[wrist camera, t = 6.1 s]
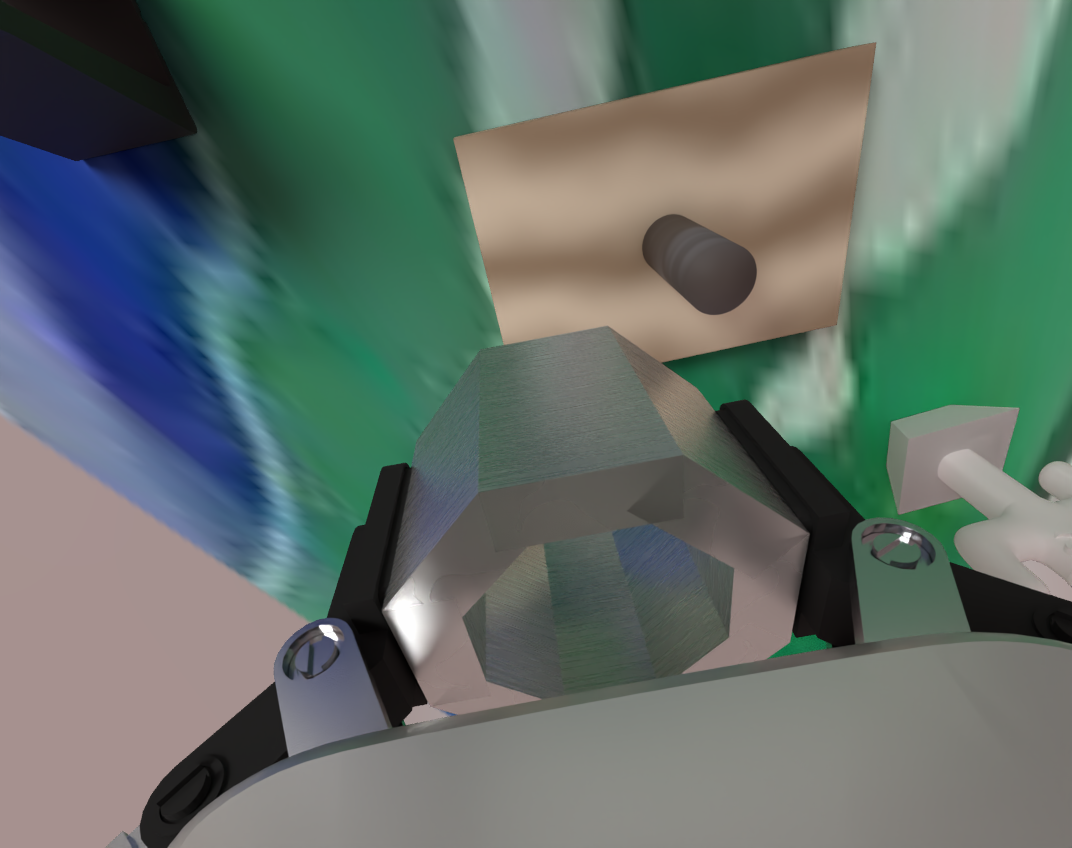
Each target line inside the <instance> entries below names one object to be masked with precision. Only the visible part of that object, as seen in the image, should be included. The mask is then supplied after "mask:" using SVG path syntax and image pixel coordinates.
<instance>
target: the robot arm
mask: <svg viewBox="0 0 1072 848" xmlns="http://www.w3.org/2000/svg"><path fill="white" fill-rule="evenodd" d="M715 412H716V413H717V415H718V416H719V417H720V418H721V420H722V421H723V422H724V424H725V425H726V426H727V428H728V429H729V430H730V431H731V433H732V434H733V435H734V437H735V438H736V439H737V440H738V442H739V443H740V444H741V446H742V447H743V448H744V449H745V451H746V452H747V453H748V455H749V456H750V457H751V459H752V460H753V461H754V462H755V464H756V465H757V466H758V468H759V469H760V470H761V471H762V473H763V474H764V475H765V477H766V478H767V479H768V480H769V482H770V483H771V484H772V486H773V487H774V488H775V490H776V491H777V492H778V493H779V495H780V496H781V497H782V499H783V500H784V501H785V502H786V504H787V505H788V506H789V508H790V509H791V510H792V511H793V513H794V514H795V515H796V517H797V518H798V519H799V520H800V522H801V523H802V524H803V526H804V527H805V528H806V529H807V531H808V532H809V533H810V535H809V541H808V546H807V552H806V557H805V563H804V568H803V574H802V579H801V584H800V590H799V595H798V601H797V606H796V612H795V617H794V623H793V628H792V631H793V633H794V635H795V637H796V638H798V637H803V636H809V635H814V634H816V636H817V637H818V638H819V639H821V640H824V641H826V645H827V649H823V650H818V651H812V652H806V653H800V654H795V655H789V656H783V657H777V658H772V659H766V660H760V661H754V662H749V663H743V664H737V665H731V666H726V667H720V668H714V669H708V670H703V671H697V672H691V673H686V674H680V675H675V676H669V677H664V678H658V679H652V680H647V681H641V682H636V683H630V684H624V685H619V686H613V687H608V688H602V689H597V690H591V691H586V692H580V693H575V694H569V695H564V696H558V697H553V698H547V699H542V700H536V701H531V702H526V703H520V704H515V705H509V706H504V707H499V708H493V709H488V710H482V711H477V712H472V713H466V714H461V715H455V716H450V717H445V718H440V719H435V720H430V721H425V722H420V723H415V724H410V725H405V722H404V719H405V718H406V717H407V716H408V714H409V713H410V712H411V711H412V707H414V706H420V705H425V704H427V699H426V697H425V695H424V693H423V691H422V689H421V687H420V685H419V683H418V681H417V679H416V677H415V676H414V674H413V672H412V670H411V668H410V666H409V664H408V662H407V660H406V658H405V656H404V654H403V652H402V650H401V648H400V646H399V644H398V642H397V640H396V638H395V637H394V635H393V633H392V631H391V629H390V627H389V625H388V623H387V621H386V619H385V617H384V615H383V613H382V608H383V603H384V598H385V593H386V591H387V588H388V586H389V582H390V578H391V573H392V568H393V563H394V558H395V553H396V548H397V543H398V538H399V533H400V528H401V523H402V518H403V513H404V508H405V503H406V498H407V493H408V488H409V483H410V478H411V473H412V468H410V467H409V465H408V464H407V463H401V464H396V465H390V466H385V467H383V468H382V469H381V472H380V476H379V479H378V482H377V486H376V489H375V493H374V496H373V500H372V503H371V507H370V510H369V514H368V517H367V521H366V524H365V525H360V526H358V527H357V528H355V530H354V533H353V535H352V539H351V542H350V545H349V548H348V551H347V555H346V558H345V561H344V564H343V567H342V571H341V574H340V577H339V580H338V583H337V587H336V590H335V593H334V596H333V600H332V603H331V606H330V609H329V612H328V616H327V618H325V619H319V620H316V621H314V622H312V623H310V624H307V625H305V626H304V627H303V628H301V629H300V630H298V631H297V632H295V633H294V634H293V636H291V637H290V638H289V639H288V640H287V641H286V642H285V644H284V645H283V647H282V648H281V650H280V651H279V652H278V655H277V657H276V660H275V663H274V679H275V682H274V683H273V684H271V685H270V686H269V687H268V688H267V689H266V690H264V691H263V692H262V693H261V694H260V695H259V696H257V697H256V698H255V699H254V700H253V701H252V702H250V703H249V704H248V705H247V706H246V707H245V708H243V709H242V710H241V711H240V712H239V713H237V714H236V715H235V716H234V717H233V718H232V719H230V720H229V721H228V722H227V723H226V724H225V725H223V726H222V727H221V728H220V729H219V730H218V731H216V732H215V733H214V734H213V735H212V736H211V737H210V738H208V739H207V740H206V741H205V742H204V743H202V744H201V745H200V746H199V747H198V748H197V749H195V750H194V751H193V752H192V753H191V754H190V755H188V756H187V757H186V758H185V759H184V760H182V762H180V763H179V764H178V765H177V766H176V767H174V769H172V771H171V772H169V774H168V775H167V776H165V777H164V778H163V780H162V781H161V782H160V784H159V785H158V786H157V788H156V789H155V790H154V792H153V793H152V795H151V796H150V798H149V800H148V802H147V805H146V806H145V809H144V811H143V814H142V819H141V823H140V825H139V826H138V827H137V828H136V829H135V830H134V831H133V832H132V833H130V834H129V835H128V834H127V833H125V832H123V831H122V832H121V833H120V834H119V835H118V836H117V837H116V838H115V839H114V840H113V841H112V842H111V843H110V844H108V845H107V846H106V848H1072V602H1071V601H1067V600H1064V599H1061V598H1058V597H1055V596H1052V595H1049V594H1046V593H1043V592H1040V591H1037V590H1034V589H1031V588H1028V587H1025V586H1021V585H1018V584H1015V583H1012V582H1009V581H1006V580H1003V579H1000V578H997V577H994V576H991V575H988V574H985V573H982V572H978V571H975V570H972V569H969V568H966V567H963V566H960V565H957V564H954V563H951V562H949V560H948V557H947V554H946V551H945V550H944V548H943V546H942V544H941V543H940V542H939V541H938V540H937V539H936V538H935V537H934V536H933V535H932V534H931V533H929V532H927V531H926V530H924V529H922V528H921V527H919V526H916V525H914V524H911V523H909V522H906V521H902V520H898V519H893V518H873V519H867V520H865V519H864V518H863V517H862V516H861V515H860V514H859V513H858V512H857V511H856V509H855V508H854V507H853V506H852V505H851V504H850V503H849V502H848V501H847V500H846V499H845V498H844V497H843V496H842V495H841V493H840V492H839V491H838V490H837V489H836V488H835V487H834V486H833V485H832V484H831V483H830V482H829V481H828V480H827V479H826V477H825V476H824V475H823V474H822V473H821V472H820V471H819V470H818V469H817V468H816V467H815V466H814V465H813V464H812V463H811V461H810V460H809V459H808V458H807V457H806V456H805V455H804V454H803V453H802V452H801V451H800V450H799V449H798V448H796V447H793V446H790V445H789V444H788V443H787V442H786V441H785V440H784V439H783V438H782V437H781V436H780V435H779V433H778V432H777V431H776V430H775V429H774V428H773V427H772V426H771V425H770V424H769V423H768V421H767V420H766V419H765V418H764V417H763V416H762V415H761V414H760V413H759V412H758V411H757V409H756V408H755V407H754V406H753V405H752V404H751V403H750V402H749V401H748V400H740V401H735V402H729V403H724V404H722V405H721V406H720V410H719V411H715Z"/></svg>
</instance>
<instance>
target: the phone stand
mask: <svg viewBox="0 0 1072 848" xmlns="http://www.w3.org/2000/svg"><path fill="white" fill-rule="evenodd" d="M140 12H141V11H140V9H139V7H138V5H137V3H136V1H135V0H0V136H3V137H6V138H9V139H12V140H15V141H18V142H21V143H24V144H27V145H30V146H33V147H36V148H39V149H42V150H45V151H48V152H51V153H53V154H56V155H59V156H62V157H65V158H68V159H71V160H74V161H79V160H84V159H88V158H92V157H97V156H101V155H106V154H110V153H114V152H119V151H123V150H127V149H132V148H136V147H140V146H145V145H149V144H153V143H158V142H162V141H167V140H171V139H175V138H180V137H184V136H188V135H193V134H196V133H197V128H196V126H195V123H194V121H193V119H192V117H191V115H190V113H189V111H188V109H187V107H186V105H185V103H184V101H183V99H182V96H181V94H180V92H179V90H178V88H177V86H176V84H175V82H174V80H173V78H172V76H171V74H170V71H169V69H168V67H167V65H166V63H165V61H164V59H163V57H162V55H161V53H160V51H159V49H158V47H157V44H156V42H155V40H154V38H153V36H152V34H151V32H150V30H149V28H148V26H147V24H146V22H144V21H143V19H142V18H141V16H140Z"/></svg>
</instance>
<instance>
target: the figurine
mask: <svg viewBox="0 0 1072 848" xmlns="http://www.w3.org/2000/svg"><path fill="white" fill-rule="evenodd" d="M1019 409H1020V408H1011V407H988V406H965V405H948V406H944V407H941V408H937V409H934V410H930V411H927V412H923V413H920V414H916V415H913V416H909V417H906V418H902V419H899V420H895V421H892V422H891V427H890V436H889V445H888V454H887V463H886V467H887V471H888V475H889V479H890V483H891V487H892V491H893V495H894V500H895V504H896V508H897V512H898V515H899V514H903V513H907V512H911V511H914V510H918V509H922V508H925V507H929V506H933V505H937V504H940V503H944V502H948V501H951V500H955V499H959V498H964V499H965V500H966V501H967V502H969V503H970V504H971V505H972V506H973V507H975V508H976V509H977V510H978V511H980V512H981V513H982V514H983V515H985V516H986V517H987V518H988V519H989V520H985V521H981V522H977V523H973V524H970V525H967V526H964V527H962V528H960V529H959V530H958V531H957V532H956V534H955V536H954V544H955V546H956V549H957V550H958V552H959V553H960V555H961V556H962V557H963V559H964V560H965V561H966V562H967V563H968V564H969V565H970V566H971V567H972V568H973V569H974V570H975V571H978V572H982V573H985V574H988V575H991V576H994V577H997V578H1000V579H1003V580H1006V581H1009V582H1012V583H1015V584H1018V585H1021V586H1025V587H1028V588H1031V589H1034V590H1037V591H1040V592H1043V593H1046V594H1049V595H1050V591H1049V589H1048V588H1047V586H1046V585H1045V584H1044V582H1043V581H1042V580H1041V579H1039V578H1038V577H1037V576H1036V575H1035V574H1034V573H1032V572H1031V571H1030V570H1029V569H1028V568H1027V567H1025V566H1024V565H1023V564H1022V563H1021V562H1024V561H1028V560H1033V561H1037V562H1040V563H1042V564H1044V565H1046V566H1047V567H1049V568H1051V569H1052V570H1053V571H1054V572H1056V573H1057V574H1058V575H1059V576H1060V577H1062V578H1063V579H1064V580H1065V581H1066V582H1067V583H1068V584H1069V585H1070V586H1071V587H1072V466H1071V465H1070V464H1068V463H1065V462H1061V461H1055V462H1051V463H1049V464H1047V465H1046V466H1045V467H1044V468H1043V469H1042V470H1041V472H1040V475H1039V483H1040V485H1041V487H1042V488H1043V489H1044V490H1046V491H1047V492H1048V493H1050V494H1051V495H1053V496H1054V497H1056V498H1057V499H1059V500H1060V501H1056V502H1051V501H1048V500H1046V499H1043V498H1041V497H1039V496H1038V495H1036V494H1035V493H1033V492H1032V491H1030V490H1029V489H1027V488H1026V487H1025V486H1023V485H1022V484H1020V483H1019V482H1017V481H1016V480H1014V479H1013V478H1012V477H1010V476H1009V475H1007V474H1006V473H1004V472H1003V471H1002V470H1003V466H1004V463H1005V459H1006V456H1007V452H1008V448H1009V445H1010V441H1011V437H1012V434H1013V430H1014V427H1015V423H1016V419H1017V416H1018V412H1019Z"/></svg>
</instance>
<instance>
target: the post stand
mask: <svg viewBox="0 0 1072 848" xmlns="http://www.w3.org/2000/svg"><path fill="white" fill-rule="evenodd" d="M875 48H876V42H875V43H869V44H864V45H858V46H852V47H847V48H843V49H839V50H834V51H830V52H825V53H821V54H817V55H812V56H808V57H804V58H799V59H795V60H790V61H786V62H782V63H777V64H773V65H768V66H764V67H760V68H755V69H751V70H747V71H742V72H738V73H733V74H729V75H725V76H720V77H716V78H712V79H707V80H703V81H698V82H694V83H690V84H685V85H681V86H677V87H672V88H668V89H663V90H659V91H655V92H650V93H646V94H641V95H637V96H633V97H628V98H624V99H620V100H615V101H611V102H606V103H602V104H598V105H593V106H589V107H585V108H580V109H576V110H571V111H567V112H563V113H558V114H554V115H550V116H545V117H541V118H536V119H532V120H528V121H523V122H519V123H514V124H510V125H506V126H501V127H497V128H493V129H488V130H484V131H479V132H475V133H471V134H466V135H462V136H458V137H455V138H454V143H455V147H456V152H457V156H458V160H459V164H460V168H461V172H462V176H463V180H464V184H465V188H466V192H467V196H468V200H469V204H470V209H471V213H472V217H473V221H474V225H475V229H476V233H477V237H478V241H479V245H480V249H481V253H482V257H483V262H484V266H485V270H486V274H487V278H488V282H489V286H490V290H491V294H492V298H493V302H494V306H495V310H496V314H497V319H498V323H499V327H500V331H501V335H502V339H503V343H504V345H507V344H512V343H518V342H523V341H528V340H534V339H539V338H544V337H550V336H555V335H560V334H566V333H571V332H576V331H582V330H587V329H592V328H598V327H603V326H609V327H610V328H612V329H613V330H615V331H616V332H618V333H619V334H620V335H622V336H623V337H625V338H626V339H628V340H629V341H630V342H632V343H633V344H635V345H636V346H638V347H639V348H640V349H642V350H643V351H645V352H646V353H647V354H649V355H650V356H652V357H653V358H655V359H656V360H657V361H659V362H660V363H661V362H666V361H671V360H675V359H680V358H685V357H689V356H694V355H699V354H704V353H708V352H713V351H718V350H722V349H727V348H732V347H736V346H741V345H746V344H750V343H755V342H760V341H764V340H769V339H774V338H778V337H783V336H788V335H792V334H797V333H802V332H806V331H811V330H816V329H820V328H825V327H830V326H834V325H837V319H838V311H839V304H840V297H841V290H842V283H843V276H844V269H845V262H846V255H847V247H848V240H849V233H850V226H851V219H852V212H853V205H854V198H855V191H856V183H857V176H858V169H859V162H860V155H861V148H862V141H863V134H864V127H865V119H866V112H867V105H868V98H869V91H870V84H871V77H872V70H873V63H874V55H875Z"/></svg>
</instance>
